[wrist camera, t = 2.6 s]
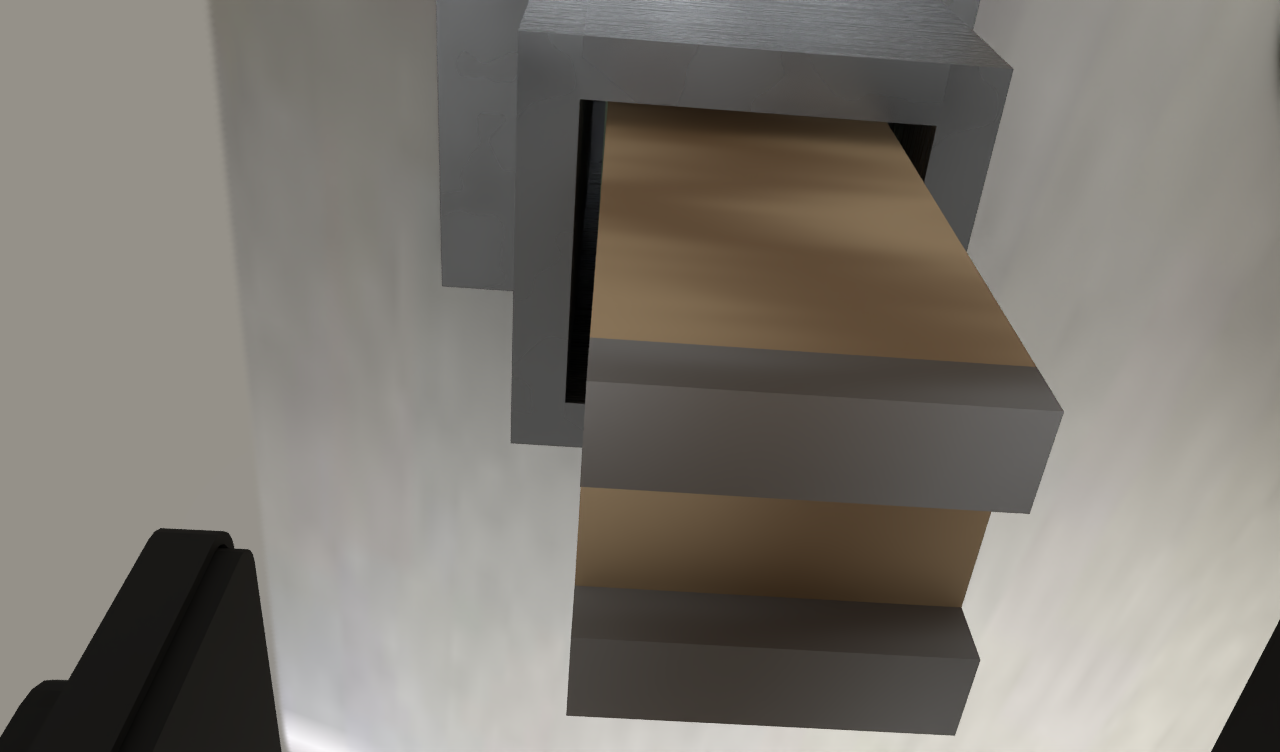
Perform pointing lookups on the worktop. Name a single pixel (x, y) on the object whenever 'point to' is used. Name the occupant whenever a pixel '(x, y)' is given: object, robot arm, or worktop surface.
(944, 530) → the column
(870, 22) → the stand
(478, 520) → the worktop surface
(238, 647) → the robot arm
